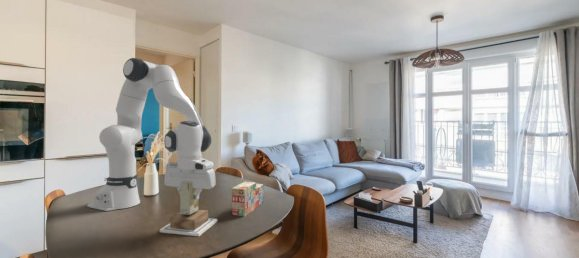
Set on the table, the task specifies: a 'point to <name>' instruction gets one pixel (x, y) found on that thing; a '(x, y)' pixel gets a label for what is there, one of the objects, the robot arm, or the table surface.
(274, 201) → the table surface
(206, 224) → the white flat slab
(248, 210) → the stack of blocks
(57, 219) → the table surface
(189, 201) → the skincare box
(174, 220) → the walnut plinth
